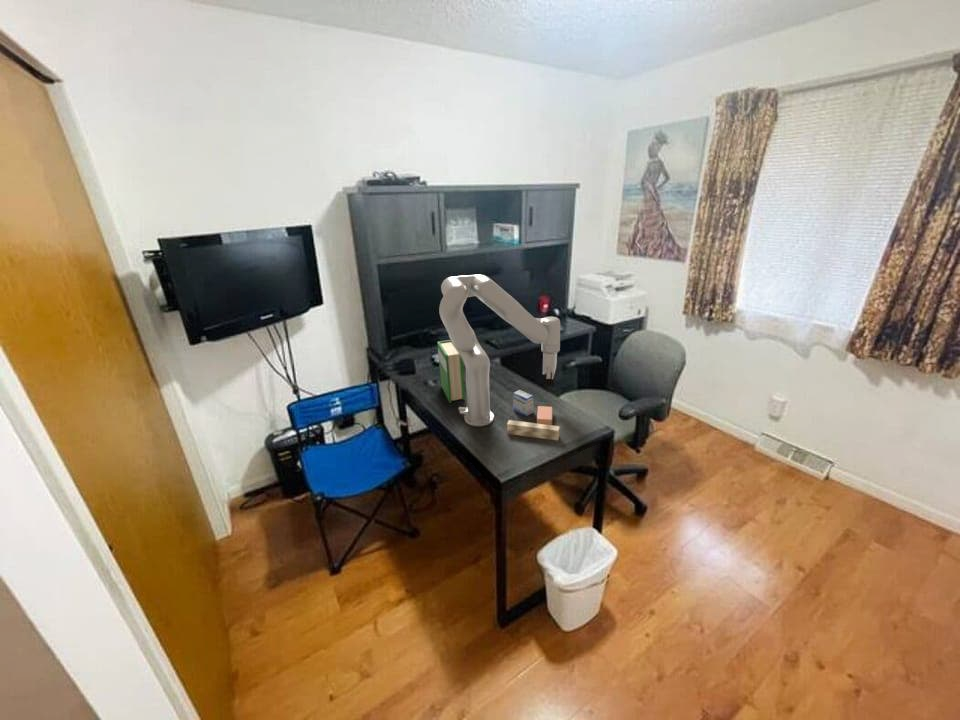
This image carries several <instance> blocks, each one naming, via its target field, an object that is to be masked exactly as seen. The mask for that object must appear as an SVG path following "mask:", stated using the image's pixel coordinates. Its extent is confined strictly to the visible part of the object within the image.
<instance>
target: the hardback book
mask: <svg viewBox="0 0 960 720" xmlns="http://www.w3.org/2000/svg"><path fill="white" fill-rule="evenodd" d="M436 342H437V353H438V355H437V356H438V363H439V374H440V375H439V376H440V386H441V389H442V390H443V393H444V395H445V396H446V399H447V401H448V403H449V404H452V403H453V402H452V401H457V400H463V401H466V392H465V380H464V379H465V378H464V377H465V376H464V362H463V360H462V358H461V356H460V355H459V353H458V351H457V350H456V348H455V346H454V344H453V343H452V341H451V339H447V340H446V339H445V340H440V341H436Z"/></svg>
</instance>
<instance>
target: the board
mask: <svg viewBox="0 0 960 720" xmlns="http://www.w3.org/2000/svg"><path fill="white" fill-rule="evenodd" d="M560 427H561V426H559V425H553V424H552V425H545V424H537V422H536V423H535V422H528V421H521V420H520V421H519V420H512V419H508V421H507V423H506V429H507V430H506V431H507V432H506V434H507V435H516V436H522V437H529V438H537V439H544V440H550V441H551V440H552V441H559V438H560Z"/></svg>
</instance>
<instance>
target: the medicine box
mask: <svg viewBox="0 0 960 720" xmlns="http://www.w3.org/2000/svg"><path fill="white" fill-rule="evenodd" d="M512 400H513V401H512V402H513V403H512V410H513V411H515V412H517V413H518V414H521V415H523V416H526V417H528V416H530V415H531V414H533V413H534V395H533V394H531V393H527V392H526V391H523V390H521V389H518V390H517V391H514V392H513V394H512Z"/></svg>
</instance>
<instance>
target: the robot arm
mask: <svg viewBox="0 0 960 720" xmlns="http://www.w3.org/2000/svg"><path fill="white" fill-rule="evenodd" d="M440 291H441V293H442V296H443V297H442V298H441V300H440V304H439V307H438V308H439V312H438V313H439V316H440V320H441V321H442V323H443V326H444V328H445V329H446V331H447V334H448V337H449V340H451V341H452V343H453V344H454V346H455V348H456V350H457V351H458V353H459V355H460V356H461V358H462V360H463V365H464V367H465V389H466V392H465V393H466V407H465V406H459V407H458V411H459V415H464V416H463V417H464V421H465V423H466V424H467V425H469V426H472V427H484V426H488V425H490V424H491V423H493V421H494V419H495V415H494V413H493V412H492V411H491V402H490V401H491V400H490V398H491V397H490V396H491V395H490V368H491V363H490V358H489V356H488V354H487V353H486V351H485V350H484V349H483V347H482V346H481V345H480V342H479V341H478V338H477V336H476V334H475V331H474V329H473V328H472V327H471V325H470V323H469V322H468V320H467V318H466V315H465V313H464V310H463V308H464V305H465V303H466V301H467V298H471V297H476V298H477V299H478V300H480V301H481V302H482V303H483V304H485V305H486V307H488V308H489V309H490V310H492V311H493V312H494V313H495V314H497V315H498V316H499V317H500V318H501V319H502V320H504V321H505V322H507V323H508V324H509V325H511V326H512V327H513V328H514V329H516V330H517V331H519V333H521V334H522V335H523V336H525V337H526V338H527V339H528V340H529V341H531V342H532V343H534V344H541V350H540V351H541V352H542V356H543V357H542V375H546V378H545V381H546V382H545V383H546V387H548V388H549V387H550V388H554V386H555V374H556V373H555V372H556V369H557V365H558V363H557V361H558V360H557V359H558V353H559V352H560V351H561V349H560V348H561V320H560V318H558V317H556V316H546V317H545V316H544V317H543V318H541V317H534V316H533V315H532V314H531V313H530V312H529V311H528V310H527V309H525V307H523V305H522V304H521V303H519V302H518V301H517V300H516V299H515V298H514V297H513V296H512V295H510V294H509V293H508V292H507V291H505V290H504V289H503V287H501V286H500V285H499V284H497V283H496V282H495V281H494V280H492V279H491V278H490V277H489V276H487V275H485V274H469V275H457V276H456V275H455V276H449V277H446V278H445V279H443V281H442V283H441V285H440Z"/></svg>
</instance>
